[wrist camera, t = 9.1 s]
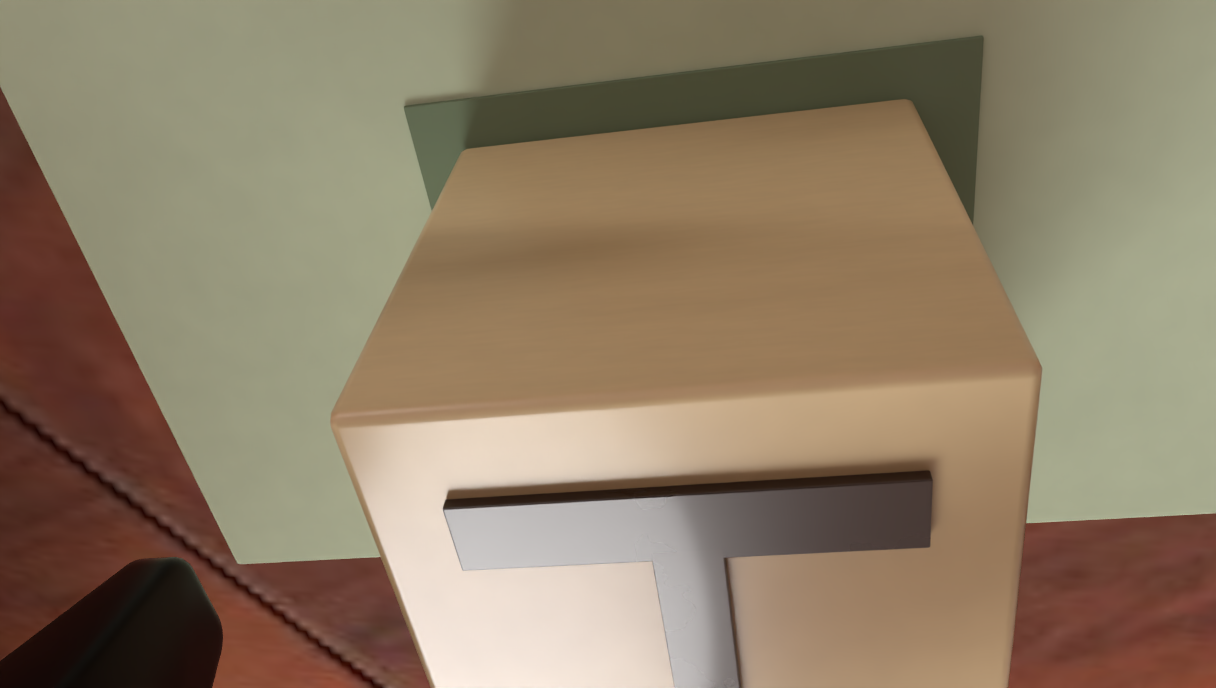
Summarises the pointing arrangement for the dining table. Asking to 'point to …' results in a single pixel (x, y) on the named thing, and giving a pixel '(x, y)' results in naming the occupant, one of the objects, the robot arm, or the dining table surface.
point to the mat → (594, 104)
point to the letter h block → (701, 414)
